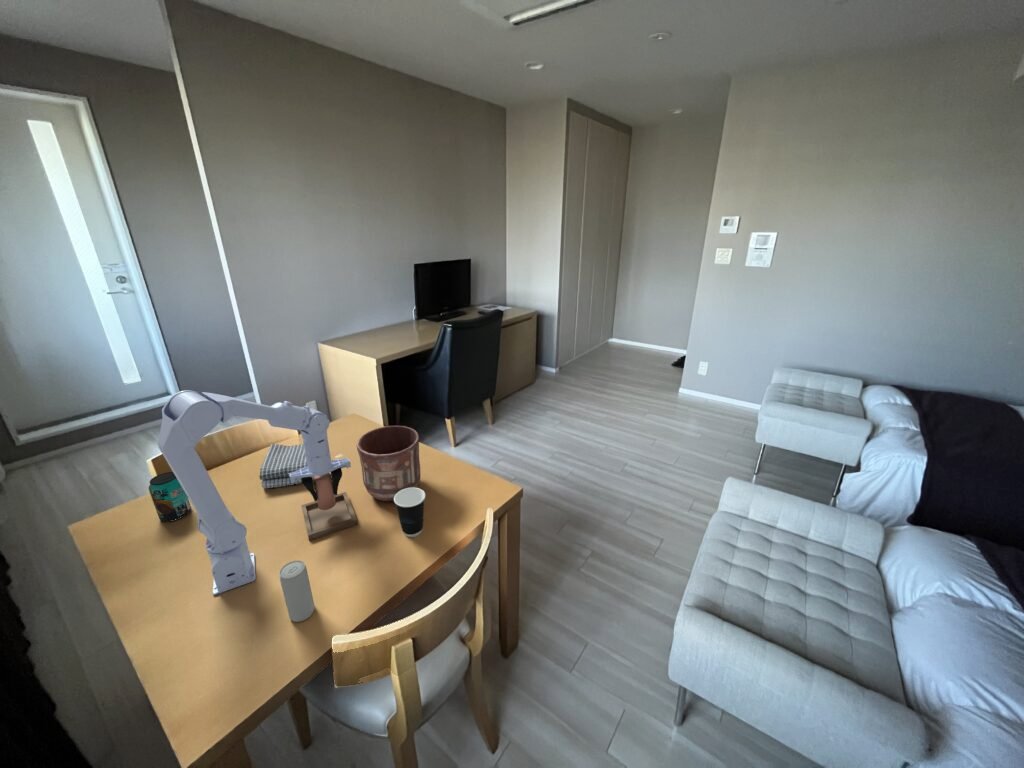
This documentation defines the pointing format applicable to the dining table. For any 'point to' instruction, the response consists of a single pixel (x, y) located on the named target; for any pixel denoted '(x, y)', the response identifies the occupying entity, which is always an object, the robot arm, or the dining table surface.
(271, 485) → the towel
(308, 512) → the tray
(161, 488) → the beverage can
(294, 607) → the beverage can
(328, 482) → the dowel
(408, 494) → the dixie cup
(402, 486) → the pottery
